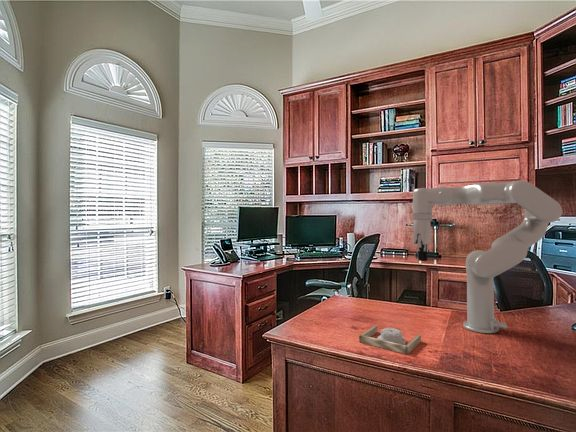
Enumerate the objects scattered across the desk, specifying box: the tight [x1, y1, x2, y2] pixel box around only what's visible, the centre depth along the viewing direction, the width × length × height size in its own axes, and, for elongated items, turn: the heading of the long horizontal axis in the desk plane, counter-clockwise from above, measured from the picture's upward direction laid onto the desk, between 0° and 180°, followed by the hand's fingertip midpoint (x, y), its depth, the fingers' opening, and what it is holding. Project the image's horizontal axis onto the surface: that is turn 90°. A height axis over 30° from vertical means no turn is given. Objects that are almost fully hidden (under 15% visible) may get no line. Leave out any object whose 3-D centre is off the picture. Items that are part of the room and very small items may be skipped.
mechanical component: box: [377, 327, 407, 345], centre depth 126 cm, size 10×4×10 cm
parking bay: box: [358, 324, 422, 355], centre depth 126 cm, size 18×14×2 cm
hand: (423, 260), depth 144 cm, fingers closed
